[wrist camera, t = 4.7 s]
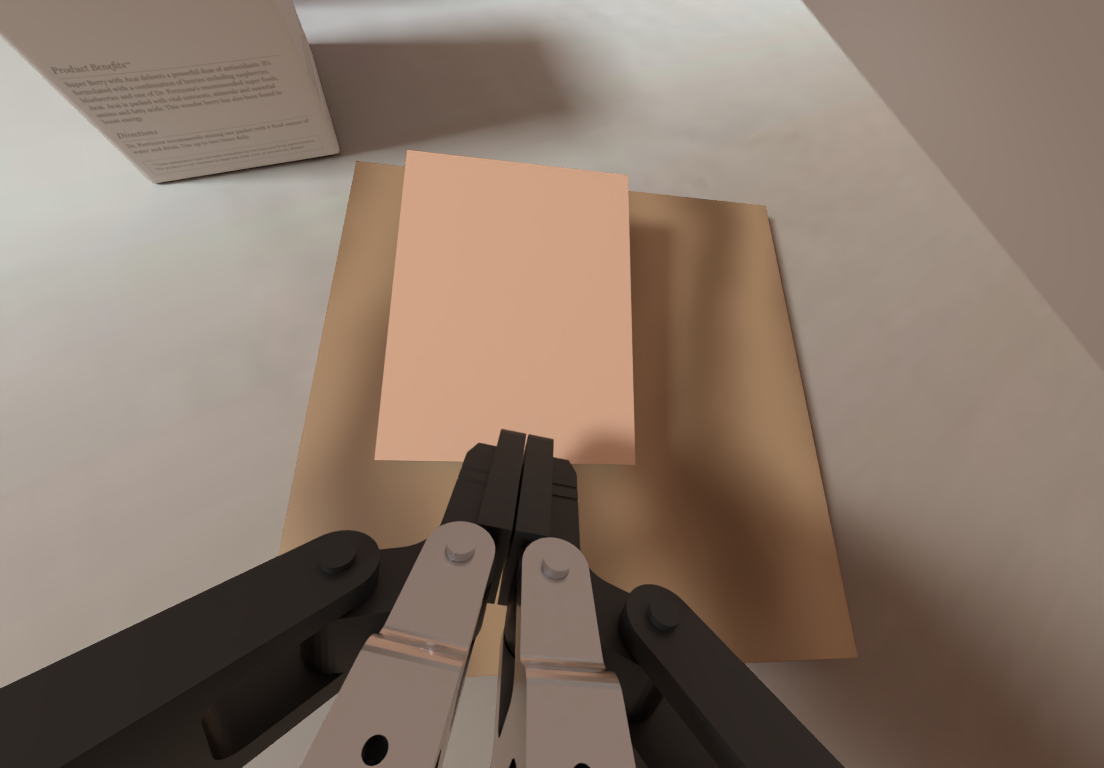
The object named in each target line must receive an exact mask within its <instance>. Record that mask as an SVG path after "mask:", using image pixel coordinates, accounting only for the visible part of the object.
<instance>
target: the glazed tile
mask: <svg viewBox="0 0 1104 768" xmlns="http://www.w3.org/2000/svg"><path fill="white" fill-rule="evenodd" d="M501 429H506V430H511V431H516V432H521V433H526V440H525V446H526V441H527V437H528V434H531V435H536V436H541V437H546V438H551V439H554V450H553V457H555V458H560V459H566V460H569V461H570V463H571V464H574V465H635V432H634V393H633V354H632V315H631V276H630V236H629V197H628V175H623V174H614V173H605V172H596V171H588V170H579V169H570V168H561V167H553V166H544V165H535V164H526V163H518V162H509V161H500V160H492V159H483V158H474V157H465V156H457V155H448V154H439V153H430V152H422V151H413V150H407V154H406V163H405V173H404V182H403V192H402V202H401V211H400V221H399V230H398V240H397V249H396V259H395V268H394V278H393V287H392V297H391V306H390V316H389V325H388V335H387V344H386V354H385V363H384V373H383V382H382V392H381V401H380V411H379V421H378V430H377V440H376V449H375V459H374V460H382V461H409V462H464V459H465V456H466V453H467V452H468V451H469V450H470V449H472V448H473V447H474V446H475V445H476V444H477V443H483V444H488V445H493V446H497V443H498V439H499V435H500V431H501ZM524 450H525V447H524Z"/></svg>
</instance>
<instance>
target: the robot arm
mask: <svg viewBox="0 0 1104 768" xmlns="http://www.w3.org/2000/svg"><path fill="white" fill-rule="evenodd" d="M525 440H526V433H521V432H516V431H511V430H506V429H501V431H500V435H499V439H498V443H497V446H493V445H488V444H483V443H477V444H476V445H475V446H474V447H473V448H472V449H470V450H469V451H468V452H467V453H466V456H465V459H464V462H463V464H462V468H461V470H460V473H459V475H458V479H457V481H456V484H455V486H454V489H453V492H452V495H451V497H450V500H449V503H448V506H447V508H446V511H445V514H444V516H443V519H442V522H441V524H440V526H439V527H438V528H436V529H435V530H434V531H433V532H432V533H431V534H430V535H429V537H428V538H427V539H425V540H423V541H421V542H419V543H417V544H414V545H410V546H405V547H397V548H388V549H379V547H378V545H377V543H376V542H375V540H374V539H372V538H371V537H370V536H368V535H367V534H365V533H362V532H359V531H354V530H340V531H334V532H330V533H327V534H324V535H322V536H320V537H317V538H315V539H313V540H311V541H309V542H307V543H305V544H303V545H301V546H299V547H296V548H294V549H292V550H290V551H288V552H286V553H284V554H282V555H280V556H278V557H275V558H273V559H271V560H269V561H267V562H265V563H263V564H261V565H259V566H257V567H254V568H252V569H250V570H248V571H246V572H244V573H242V574H240V575H238V576H236V577H234V578H231V579H229V580H227V581H225V582H223V583H221V584H219V585H217V586H215V587H213V588H210V589H208V590H206V591H204V592H202V593H200V594H198V595H196V596H194V597H192V598H189V599H187V600H185V601H183V602H181V603H179V604H177V605H175V606H173V607H171V608H168V609H166V610H164V611H162V612H160V613H158V614H156V615H154V616H152V617H150V618H147V619H145V620H143V621H141V622H139V623H137V624H135V625H133V626H131V627H129V628H126V629H124V630H122V631H120V632H118V633H116V634H114V635H112V636H110V637H108V638H105V639H103V640H101V641H99V642H97V643H95V644H93V645H91V646H89V647H87V648H84V649H82V650H80V651H78V652H76V653H74V654H72V655H70V656H68V657H66V658H63V659H61V660H59V661H57V662H55V663H53V664H51V665H49V666H47V667H45V668H42V669H40V670H38V671H36V672H34V673H32V674H30V675H28V676H26V677H24V678H21V679H19V680H17V681H15V682H13V683H11V684H9V685H7V686H5V687H3V688H0V768H242V767H243V766H244V765H246V764H247V763H248V762H250V761H251V760H252V759H253V758H255V757H256V756H257V755H259V754H260V753H261V752H262V751H264V750H265V749H266V748H268V747H269V746H270V745H271V744H273V743H274V742H275V741H277V740H278V739H279V738H280V737H282V736H283V735H284V734H286V733H287V732H288V731H289V730H291V729H292V728H293V727H295V726H296V725H297V724H298V723H300V722H301V721H302V720H304V719H305V718H306V717H307V716H309V715H310V714H311V713H313V712H314V711H315V710H316V709H318V708H319V707H320V706H322V705H323V704H324V703H325V702H327V701H328V700H329V699H331V698H332V697H333V696H334V695H336V694H337V693H338V692H339V693H338V695H337V697H336V699H335V701H334V703H333V705H332V707H331V709H330V711H329V712H328V714H327V716H326V718H325V720H324V722H323V724H322V726H321V728H320V730H319V732H318V734H317V736H316V738H315V739H314V741H313V743H312V745H311V747H310V749H309V751H308V753H307V755H306V757H305V759H304V761H303V763H302V765H301V767H300V768H442V765H443V761H444V757H445V753H446V749H447V745H448V741H449V738H450V734H451V730H452V726H453V723H454V719H455V715H456V711H457V708H458V704H459V700H460V697H461V693H462V689H463V686H464V682H465V678H466V674H467V671H468V667H469V663H470V660H471V656H472V652H473V649H474V645H475V641H476V637H477V635H478V634H479V632H480V630H481V628H482V624H483V620H484V615H485V611H486V607H487V603H490V604H495V599H496V595H497V591H498V587H499V583H500V578H501V574H502V578H501V584H500V591H499V597H498V603H497V605H503V606H507V611H506V618H505V625H504V629H503V632H502V636H501V641H500V652H499V668H498V683H497V699H496V714H495V730H494V743H493V753H492V760H491V766H490V768H844V766H843V765H842V764H841V763H840V762H839V761H838V760H837V759H836V758H835V757H834V756H833V755H832V754H831V753H830V752H829V751H828V750H827V749H826V748H825V747H824V746H823V745H822V744H821V743H820V742H819V741H818V740H817V739H816V738H815V736H814V735H813V734H812V733H811V732H810V731H809V730H808V729H807V728H806V727H805V726H804V725H803V724H802V723H801V722H800V721H799V720H798V719H797V718H796V717H795V716H794V715H793V714H792V713H791V712H790V711H789V710H788V709H787V708H786V706H785V705H784V704H783V703H782V702H781V701H780V700H779V699H778V698H777V697H776V696H775V695H774V694H773V693H772V692H771V691H770V690H769V689H768V688H767V687H766V686H765V685H764V684H763V683H762V682H761V681H760V680H759V679H758V677H757V676H756V675H755V674H754V673H753V672H752V671H751V670H750V669H749V668H748V667H747V666H746V665H745V664H744V663H743V662H742V661H741V660H740V659H739V658H738V657H737V656H736V655H735V654H734V653H733V652H732V651H731V650H730V649H729V647H728V646H727V645H726V644H725V643H724V642H723V641H722V640H721V639H720V638H719V637H718V636H717V635H716V634H715V633H714V632H713V631H712V630H711V629H710V628H709V627H708V626H707V625H706V624H705V623H704V622H703V621H702V620H701V619H700V617H699V616H698V615H697V614H696V613H695V612H694V611H693V610H692V609H691V608H690V607H689V606H688V605H687V604H686V603H685V602H684V601H683V600H682V599H681V598H680V597H679V596H677V595H676V594H675V593H673V592H672V591H670V590H668V589H666V588H664V587H662V586H658V585H654V584H644V585H640V586H638V587H636V588H634V589H633V590H632V591H631V593H628V592H626V591H624V590H622V589H620V588H618V587H616V586H614V585H612V584H610V583H608V582H606V581H604V580H603V579H601V578H600V577H599V576H597V575H596V574H595V573H594V572H593V571H592V570H591V569H590V568H589V566H588V563H587V561H586V558H585V557H584V555H583V554H582V553H581V549H580V533H579V512H578V502H577V501H578V491H577V473H576V472H575V470H574V468H573V466H572V465H571V463H570V461H569V460H566V459H560V458H555V457H553V450H554V439H551V438H546V437H541V436H536V435H531V434H528V437H527V441H526V446H525ZM524 447H525V450H524ZM502 570H503V572H502Z"/></svg>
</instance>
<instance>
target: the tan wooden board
mask: <svg viewBox="0 0 1104 768" xmlns="http://www.w3.org/2000/svg"><path fill="white" fill-rule="evenodd" d="M404 173H405V166H396V165H387V164H377V163H368V162H359V161H356V166H355V171H354V176H353V181H352V186H351V191H350V196H349V201H348V206H347V211H346V216H345V221H344V226H343V231H342V236H341V241H340V246H339V252H338V257H337V262H336V267H335V272H334V277H333V282H332V287H331V292H330V297H329V302H328V307H327V312H326V317H325V322H324V327H323V332H322V337H321V342H320V347H319V353H318V358H317V363H316V368H315V373H314V378H313V383H312V388H311V393H310V398H309V403H308V408H307V413H306V418H305V423H304V428H303V433H302V438H301V443H300V448H299V453H298V459H297V464H296V469H295V474H294V479H293V484H292V489H291V494H290V499H289V504H288V509H287V514H286V519H285V524H284V529H283V534H282V539H281V544H280V549H279V554H278V556H280V555H282V554H284V553H286V552H288V551H290V550H292V549H294V548H296V547H299V546H301V545H303V544H305V543H307V542H309V541H311V540H313V539H315V538H317V537H320V536H322V535H324V534H327V533H330V532H334V531H340V530H354V531H359V532H362V533H365V534H367V535H368V536H370V537H371V538H372V539H374V540H375V542H376V543H377V545H378V547H379V549H388V548H397V547H405V546H410V545H414V544H417V543H419V542H421V541H423V540H425V539H427V538H428V537H429V535H430V534H431V533H432V532H433V531H434V530H435V529H436V528H438V527H439V526H440V524H441V522H442V519H443V516H444V514H445V511H446V508H447V506H448V503H449V500H450V497H451V495H452V492H453V489H454V486H455V484H456V481H457V479H458V475H459V473H460V470H461V468H462V464H463V462H409V461H382V460H374V459H375V449H376V440H377V430H378V421H379V411H380V401H381V392H382V382H383V373H384V363H385V354H386V344H387V335H388V325H389V316H390V306H391V297H392V287H393V278H394V268H395V259H396V249H397V240H398V230H399V221H400V211H401V202H402V192H403V182H404ZM628 197H629V236H630V276H631V315H632V354H633V393H634V432H635V465H574V464H571V465H572V466H573V468H574V470H575V472H576V473H577V491H578V501H577V502H578V512H579V533H580V549H581V553H582V554H583V555H584V557H585V558H586V561H587V563H588V566H589V568H590V569H591V570H592V571H593V572H594V573H595V574H596V575H597V576H599V577H600V578H601V579H603V580H604V581H606V582H608V583H610V584H612V585H614V586H616V587H618V588H620V589H622V590H624V591H626V592H628V593H631V591H632V590H633V589H634V588H636V587H638V586H640V585H644V584H654V585H658V586H662V587H664V588H666V589H668V590H670V591H672V592H673V593H675V594H676V595H677V596H679V597H680V598H681V599H682V600H683V601H684V602H685V603H686V604H687V605H688V606H689V607H690V608H691V609H692V610H693V611H694V612H695V613H696V614H697V615H698V616H699V617H700V619H701V620H702V621H703V622H704V623H705V624H706V625H707V626H708V627H709V628H710V629H711V630H712V631H713V632H714V633H715V634H716V635H717V636H718V637H719V638H720V639H721V640H722V641H723V642H724V643H725V644H726V645H727V646H728V647H729V649H730V650H731V651H732V652H733V653H734V654H735V655H736V656H737V657H738V658H739V659H740V660H741V661H742V662H743V663H758V662H779V661H799V660H819V659H840V658H858V655H857V650H856V645H855V640H854V635H853V630H852V625H851V621H850V616H849V611H848V606H847V601H846V596H845V591H844V586H843V581H842V577H841V572H840V567H839V562H838V557H837V552H836V547H835V542H834V538H833V533H832V528H831V523H830V518H829V513H828V508H827V503H826V498H825V494H824V489H823V484H822V479H821V474H820V469H819V464H818V459H817V455H816V450H815V445H814V440H813V435H812V430H811V425H810V420H809V415H808V411H807V406H806V401H805V396H804V391H803V386H802V381H801V376H800V372H799V367H798V362H797V357H796V352H795V347H794V342H793V337H792V333H791V328H790V323H789V318H788V313H787V308H786V303H785V298H784V293H783V289H782V284H781V279H780V274H779V269H778V264H777V259H776V254H775V250H774V245H773V240H772V235H771V230H770V225H769V220H768V215H767V210H766V206H762V205H753V204H744V203H734V202H725V201H716V200H707V199H698V198H689V197H679V196H670V195H661V194H652V193H643V192H634V191H628ZM502 572H503V570H502ZM501 578H502V574H501ZM501 578H500V583H499V587H498V591H497V595H496V599H495V604H490V603H487V607H486V611H485V615H484V620H483V624H482V628H481V630H480V632H479V634H478V635H477V637H476V641H475V645H474V649H473V652H472V656H471V660H470V663H469V667H468V671H467V674H466V677H474V676H494V675H498V668H499V652H500V641H501V636H502V632H503V629H504V625H505V618H506V611H507V606H503V605H497V603H498V597H499V591H500V584H501Z"/></svg>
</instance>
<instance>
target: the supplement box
mask: <svg viewBox="0 0 1104 768" xmlns="http://www.w3.org/2000/svg"><path fill="white" fill-rule="evenodd" d="M0 37H1V38H3V39H4V40H5V41H6V42H7V43H8V44H9V45H10V46H11V47H12V48H13V49H14V50H15V51H16V52H17V53H18V54H19V55H20V56H21V57H22V58H23V59H24V60H25V61H26V62H27V63H28V64H29V65H30V66H31V67H32V68H33V69H34V70H36V71H37V72H38V73H39V74H40V75H41V76H42V77H43V78H44V79H45V80H46V81H47V82H48V83H49V84H50V85H51V86H52V87H53V88H54V89H55V90H56V91H57V92H58V93H59V94H60V95H61V96H62V97H63V98H64V99H65V100H67V101H68V102H69V103H70V104H71V105H72V106H73V107H74V108H75V109H76V110H77V111H78V112H79V113H80V114H81V115H82V116H83V117H84V118H85V119H86V120H87V121H88V122H89V123H90V124H91V125H92V126H93V127H94V128H96V129H97V130H98V131H99V132H100V133H101V134H102V135H103V136H104V137H105V138H106V139H107V140H108V141H109V142H110V143H111V144H112V145H113V146H114V147H115V148H116V149H117V150H118V151H119V152H120V153H121V154H122V155H124V156H125V157H126V158H127V159H128V160H129V161H130V162H131V163H132V164H133V165H134V166H135V167H136V168H137V169H138V170H139V171H140V172H141V173H142V174H143V175H144V176H145V177H146V178H147V179H148V180H149V181H150V182H152V183H161V182H167V181H173V180H179V179H185V178H191V177H197V176H203V175H209V174H215V173H222V172H228V171H234V170H240V169H246V168H252V167H259V166H265V165H271V164H277V163H284V162H290V161H296V160H302V159H308V158H314V157H320V156H327V155H333V154H338V153H339V152H340V150H339V145H338V141H337V138H336V134H335V131H334V128H333V124H332V121H331V117H330V114H329V110H328V107H327V104H326V100H325V97H324V93H323V90H322V86H321V83H320V79H319V76H318V72H317V69H316V65H315V62H314V58H313V55H312V52H311V49H310V46H309V43H308V41H307V38H306V36H305V33H304V31H303V28H302V26H301V23H300V20H299V18H298V15H297V13H296V10H295V8H294V5H293V3H292V0H0Z"/></svg>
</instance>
